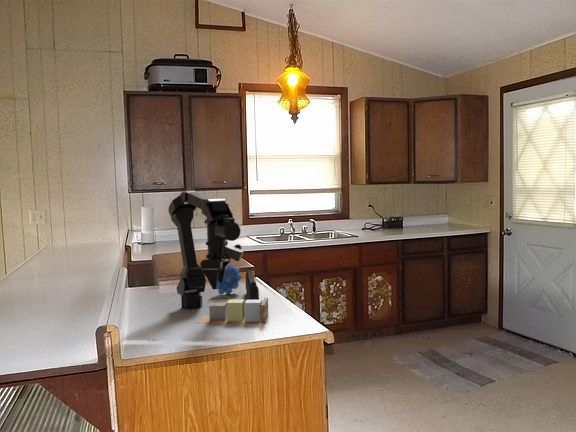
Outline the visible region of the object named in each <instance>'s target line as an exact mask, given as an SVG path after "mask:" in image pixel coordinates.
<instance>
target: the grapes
mask: <svg viewBox="0 0 576 432" xmlns="http://www.w3.org/2000/svg"><path fill="white" fill-rule="evenodd" d="M241 280H242V274H240V267H238V266H237V267H234V265H232V264H228V265H227V266H226V269H225V274H224V278H223V283H219V281H218V280H217V287H216V289H215V290H217V292H218V295H224V293H225V294H226V295H230V294H231V293H232V292H233V290H236V289H238V288H239V286H240V284H239V282H240V281H241Z"/></svg>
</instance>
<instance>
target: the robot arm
mask: <svg viewBox="0 0 576 432" xmlns="http://www.w3.org/2000/svg"><path fill="white" fill-rule="evenodd" d="M229 206H230V205H229V204H228V202H227V200H226V199H225V198H210V197H208V196H206V195H204V194H201V193H199V192H198V191H196V190H183V191H181V192H180V194H179V195H177V196H176V197H175V198H174V199H172V201H171V202H170V204H169V205H168V213H169V216H170V219H171V222H173V224H174V225H175V226H176V228H177V234H178V239H179V245H180V252H181V253H180V254H181V259H182V264H183V265H182V269H181V271H180V274H179V276H180V277H179V278H180V280H179V281H178V283H177V286H176V292H177V294H178V295H180V299H181V301H180V302H181V309H184V310H195V309H197V310H198V309H202V307H203V296H202V295H201V294H202V293H205V291H206V284H207V281H208V283H209V285H210V287H211V288H212V290H217V289H216V287H217V280H218V281H219V283H223V278H224V274H225V269H226V268H227V266H228V265H230V263H231V261H232V260H233V261H235V262H240V261H241V260H242V257H243V254H244V251H245V250H244V249H242V248H243V247H242V244H238V243H237V244H235V245H231V244H230V245H229V242H228V241H232V242H233V241H236V240H238V239H239V237H240V236H241V228H240V226H239V224H238V223H237V222H235V221H236V220H235V219H236V218H234V216H233V215H234V214H233V212H232V211H231V208H230V207H229ZM196 209H200V210H201V214H202V215H204V216H205V217H206V219H205V220H204V221H203V222H204V224H206V236H207V239H206V242H205V246H207V254H206V255H205V258H204V259H202V260H201V261H200V263H199V264H200V265H199V264H198V261H197V255H196V247H195V243H194V236H193V231H192V221H193V219H194V216H195V213H194V212H195V210H196Z"/></svg>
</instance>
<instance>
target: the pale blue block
mask: <svg viewBox="0 0 576 432" xmlns="http://www.w3.org/2000/svg"><path fill="white" fill-rule="evenodd" d="M262 301H263V300H262V299H259V300H248V299H246V300H245V301H244V305H245V321H261V303H262Z"/></svg>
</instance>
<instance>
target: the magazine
mask: <svg viewBox="0 0 576 432" xmlns="http://www.w3.org/2000/svg"><path fill="white" fill-rule="evenodd" d="M259 289H260V288H259V287H258V284H257V282H256V280H255V276H254V272H253V268H252V267H247V269H246V271H245V292H246V300H260V292H259V291H260V290H259Z"/></svg>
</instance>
